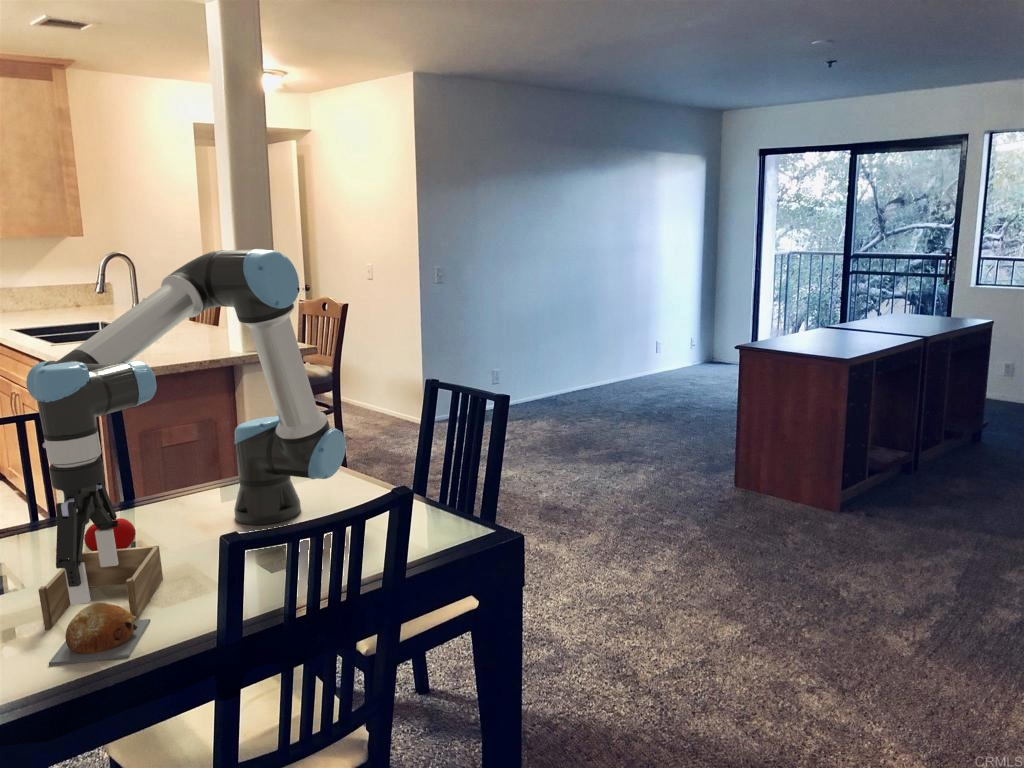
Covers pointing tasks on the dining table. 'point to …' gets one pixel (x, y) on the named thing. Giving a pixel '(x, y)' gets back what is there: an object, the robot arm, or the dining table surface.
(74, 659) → the slate board
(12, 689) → the dining table surface
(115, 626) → the bread roll
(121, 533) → the red heart shape
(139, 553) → the box
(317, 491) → the dining table surface
